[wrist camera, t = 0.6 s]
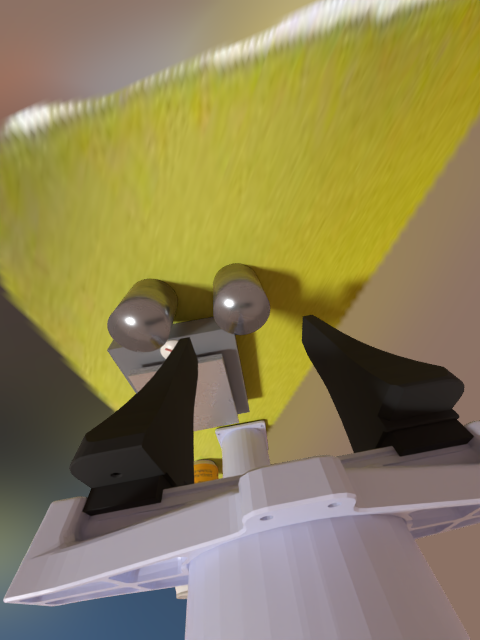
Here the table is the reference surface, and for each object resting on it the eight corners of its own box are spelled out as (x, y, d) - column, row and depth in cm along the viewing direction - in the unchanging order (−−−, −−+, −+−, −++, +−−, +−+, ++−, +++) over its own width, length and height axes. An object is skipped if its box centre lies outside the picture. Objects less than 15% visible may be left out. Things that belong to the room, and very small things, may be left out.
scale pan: (238, 416, 26) (238, 422, 26) (168, 429, 26) (166, 436, 26) (222, 353, 20) (222, 359, 20) (130, 370, 20) (127, 376, 20)
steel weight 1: (183, 315, 21) (176, 346, 17) (141, 322, 21) (123, 356, 17) (169, 274, 19) (157, 300, 15) (121, 283, 19) (95, 311, 15)
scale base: (246, 395, 30) (250, 415, 27) (163, 411, 29) (158, 432, 27) (230, 313, 22) (233, 330, 19) (117, 334, 22) (104, 353, 19)
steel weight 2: (260, 301, 21) (271, 329, 17) (218, 309, 21) (219, 339, 17) (256, 259, 19) (268, 280, 15) (208, 267, 19) (207, 291, 15)
